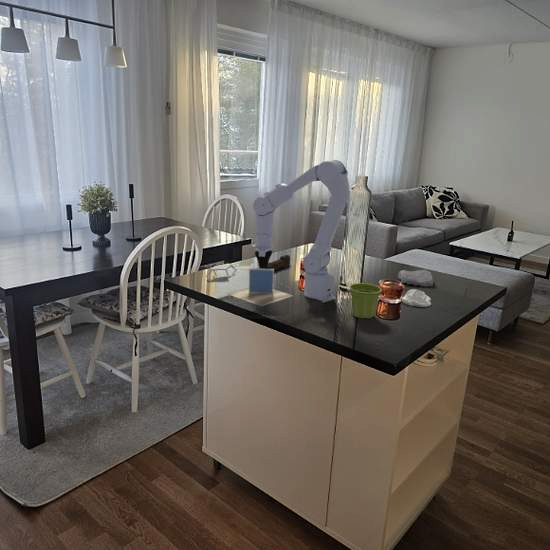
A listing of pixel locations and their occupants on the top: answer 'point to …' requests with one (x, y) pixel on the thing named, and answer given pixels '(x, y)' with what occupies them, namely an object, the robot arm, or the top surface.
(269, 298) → the board
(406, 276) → the stone block
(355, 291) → the plant pot
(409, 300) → the white rock
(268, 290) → the tile
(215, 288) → the top surface
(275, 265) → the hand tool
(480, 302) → the top surface
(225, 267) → the origami figure
